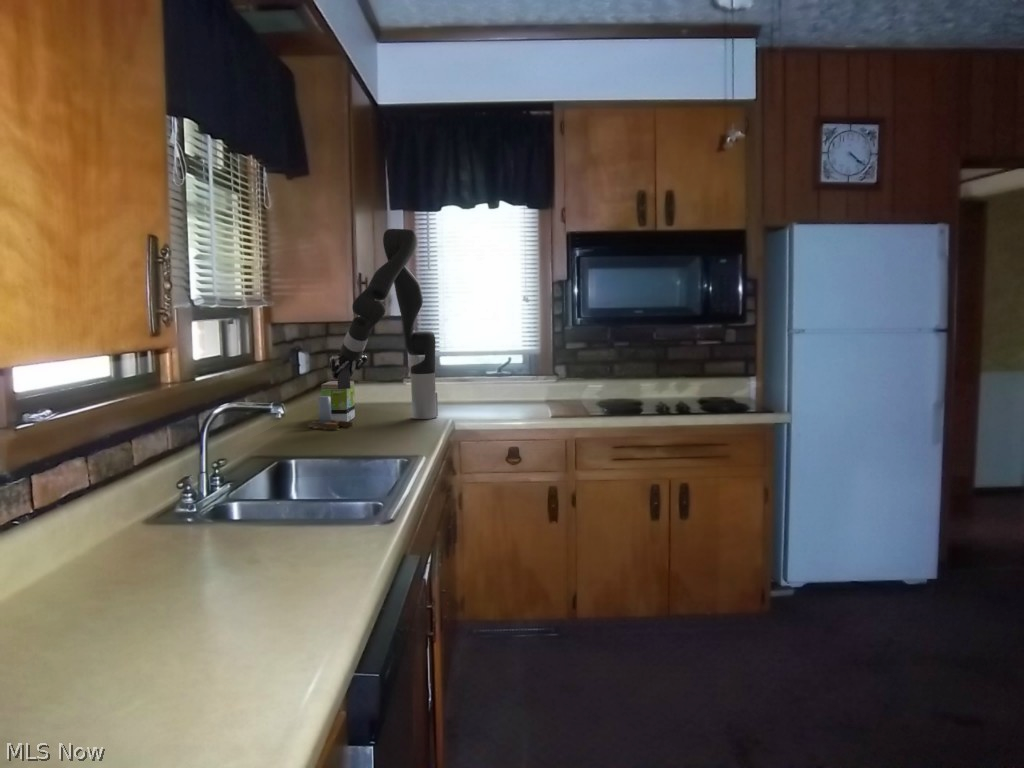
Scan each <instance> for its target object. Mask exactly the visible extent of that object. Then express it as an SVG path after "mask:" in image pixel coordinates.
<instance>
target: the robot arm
mask: <svg viewBox="0 0 1024 768" xmlns="http://www.w3.org/2000/svg"><path fill="white" fill-rule="evenodd" d="M382 242H383V243H382V244H383V248H384V253H385V256H386V259H387V261H386V262H385V263H384V264H383V265H382V266H380V267H379V268H378V269H377V270H376V271H375V272H374V274H373V276H372V278H371V279H370V282H369V284H367V287H366V288H365V289H364V290H363V291H362V292H361V293H360V294H359V295H358V296H357V297H356V298H355V299H354V301H353V303H352V306H351V309H352V312H353V313H354V314H355V315H356V317H354V318H353V320H352V322H351V324H350V326H349V328H348V331H347V332H346V334H345V337H344V338H343V342H342V345H341V347H340V351H339V353H338V354H337V355H336V356H333V354H332V355H330V356H329V368H330V369H331V372H332V373H331V375H332V377H333V378H334V380H337V377H338V375H339V371H340V370H341V369H343V368H344V367H345V366H346V365H350V378H351V377H352V376H353V374H354V372H355V371H356V370H357V371H359V370H360V369H362V367H363V366H364V365H365V364H366V362H367V361H368V357H367V356H366V354H365V353H364V351H365V349H366V346H367V343H368V340H369V337H370V335H371V332H372V331H373V329H374V328H375V326H376V325H377V324H378V323H379V322H380V321H381V320H382V319H383V318H384V316H385V315H386V306H385V304H384V303H383V302H381V301H382V300H385V299H386V298H387V297H388V294H389V293H390V290H391V289H392V286H393V285H394V290H395V295H396V299H397V304H398V309H399V313H400V316H401V317H400V318H401V321H402V322H401V323H402V327H403V328H402V329H403V334H404V343H405V348H406V351H407V353H408V354H409V355H411V356H424V358H423V360H422V361H420V362H418V363H416V364H412V365H411V366H410V387H411V390H410V391H411V416H412V419H415V420H427V419H428V420H430V419H435V417H436V418H437V416H439V412H438V411H439V409H438V408H439V407H438V405H439V403H438V392H437V391H436V389H437V388H436V336H435V333H434V332H433V331H431V330H418V331H417V330H415V328H414V323H415V320H416V318H417V316H418V314H419V313H420V310H421V309H422V305H423V303H424V299H423V294H422V288H421V284H420V282H419V280H417V278H416V276H415V275H414V274H413V273H412V272H411V271H410V269H408V267H407V264H408V262H409V261H410V260H411V259H412V257H413V256H414V254H415V252H416V251H417V248H418V236H417V234H416V232H415V231H414V230H412V229H408V228H405V229H404V228H388V229H386V230H385V231H384V233H383V237H382ZM338 366H339V367H338Z"/></svg>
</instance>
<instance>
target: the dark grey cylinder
mask: <svg viewBox="0 0 1024 768" xmlns="http://www.w3.org/2000/svg"><path fill="white" fill-rule="evenodd" d="M338 367H339V366H338ZM336 381H338V389H350V381H351V377H350V365H346V366H345V367H344V368H343V369H341V370H340V371H339V375H338V377H337V379H336Z"/></svg>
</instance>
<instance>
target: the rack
mask: <svg viewBox="0 0 1024 768" xmlns="http://www.w3.org/2000/svg"><path fill="white" fill-rule="evenodd" d="M338 426H343V427H342V428H348V427H352V428H353V421H337V420H332V422H329V423H324V422H319V420H314V421H308V428H309V427H317V428H326V429H334V430H333V431H338V430H339V427H338ZM317 428H316V429H317ZM326 429H325V430H326ZM337 429H338V430H337Z"/></svg>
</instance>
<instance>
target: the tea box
mask: <svg viewBox="0 0 1024 768" xmlns="http://www.w3.org/2000/svg"><path fill="white" fill-rule="evenodd" d="M320 386H321V387H320V390H321V391H320V394H321V395H320V396H331V419H332V420H337V421H348V422H351V420H353V419H355V418H354V417H356V412H355V411H356V410H355V409H356V407H355V406H356V405H355V404H356V403H355V402H356V400H355V380H350V389H338V381H337V380H333V381H332V380H331V381H327V382H325V383H322V384H320Z"/></svg>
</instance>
